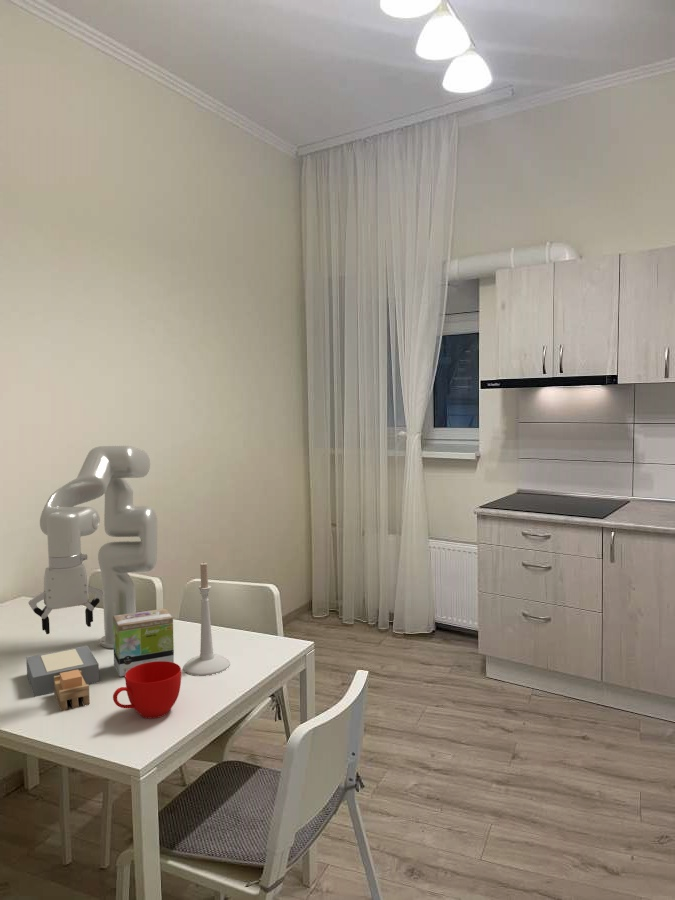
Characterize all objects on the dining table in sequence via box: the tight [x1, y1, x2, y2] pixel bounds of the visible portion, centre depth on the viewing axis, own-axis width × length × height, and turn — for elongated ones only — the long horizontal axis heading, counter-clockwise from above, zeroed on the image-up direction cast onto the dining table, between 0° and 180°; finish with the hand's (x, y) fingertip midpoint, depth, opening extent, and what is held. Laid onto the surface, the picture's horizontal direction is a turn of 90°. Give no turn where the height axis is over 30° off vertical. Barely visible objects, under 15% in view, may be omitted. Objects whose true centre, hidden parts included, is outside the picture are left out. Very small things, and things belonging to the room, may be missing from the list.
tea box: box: [113, 608, 175, 678], centre depth 184 cm, size 15×10×15 cm
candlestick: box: [183, 562, 231, 677], centre depth 183 cm, size 13×13×30 cm
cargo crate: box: [60, 669, 82, 690], centre depth 164 cm, size 4×5×3 cm
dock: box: [26, 645, 100, 697], centre depth 177 cm, size 16×16×5 cm
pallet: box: [53, 671, 91, 712], centre depth 165 cm, size 7×11×5 cm, turn 31°
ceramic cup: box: [112, 661, 182, 719], centre depth 155 cm, size 13×17×10 cm
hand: (68, 628), depth 163 cm, fingers open, 9 cm apart
